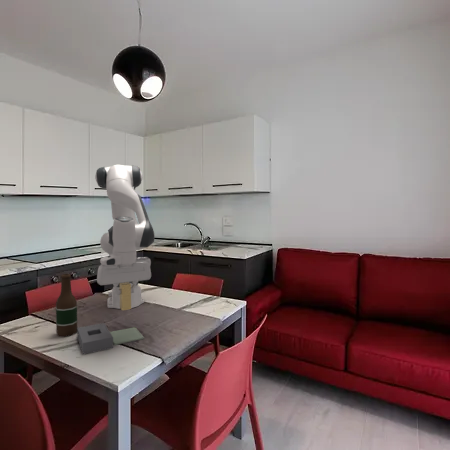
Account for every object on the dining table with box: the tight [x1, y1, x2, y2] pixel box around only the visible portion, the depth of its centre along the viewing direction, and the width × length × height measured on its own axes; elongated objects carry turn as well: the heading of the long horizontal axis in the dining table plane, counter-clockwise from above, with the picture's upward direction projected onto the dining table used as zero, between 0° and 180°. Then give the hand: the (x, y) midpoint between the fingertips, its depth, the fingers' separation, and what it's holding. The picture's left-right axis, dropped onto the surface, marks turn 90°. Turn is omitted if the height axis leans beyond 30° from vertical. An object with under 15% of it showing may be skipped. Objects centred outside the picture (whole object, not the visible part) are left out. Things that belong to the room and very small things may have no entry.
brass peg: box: [119, 282, 132, 312], centre depth 123 cm, size 4×4×10 cm
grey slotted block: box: [76, 322, 114, 355], centre depth 118 cm, size 16×10×4 cm, turn 32°
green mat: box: [109, 326, 145, 346], centre depth 124 cm, size 12×11×1 cm
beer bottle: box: [55, 273, 78, 338], centre depth 126 cm, size 8×8×24 cm
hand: (125, 293), depth 123 cm, fingers closed on brass peg, 3 cm apart
